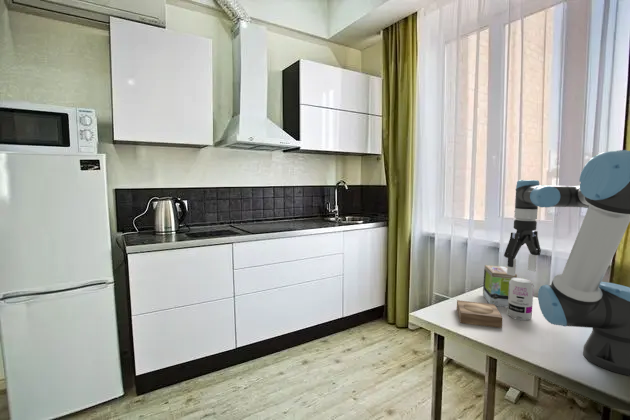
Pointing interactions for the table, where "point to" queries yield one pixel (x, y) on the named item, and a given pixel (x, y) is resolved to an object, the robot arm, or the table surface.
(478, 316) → the walnut base
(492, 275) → the tea box
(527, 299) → the supplement can
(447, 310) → the table surface
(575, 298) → the robot arm
